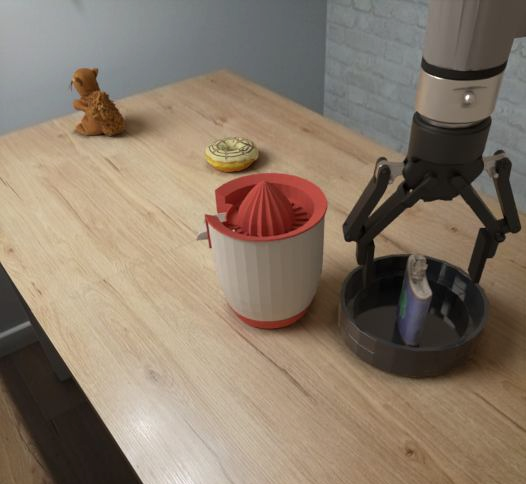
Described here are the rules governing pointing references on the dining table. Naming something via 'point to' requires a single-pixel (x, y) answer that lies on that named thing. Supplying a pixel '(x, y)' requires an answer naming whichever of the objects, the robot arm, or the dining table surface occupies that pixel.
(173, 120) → the dining table surface
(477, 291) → the bowl
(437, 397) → the dining table surface
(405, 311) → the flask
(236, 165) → the decorated donut
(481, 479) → the dining table surface
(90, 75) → the stuffed squirrel
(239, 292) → the citrus juicer
